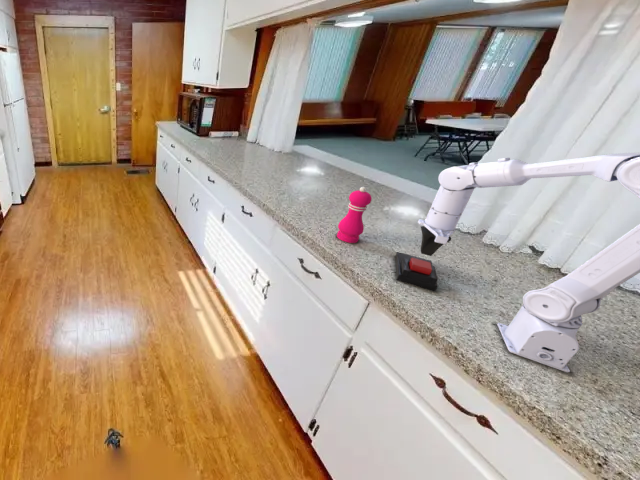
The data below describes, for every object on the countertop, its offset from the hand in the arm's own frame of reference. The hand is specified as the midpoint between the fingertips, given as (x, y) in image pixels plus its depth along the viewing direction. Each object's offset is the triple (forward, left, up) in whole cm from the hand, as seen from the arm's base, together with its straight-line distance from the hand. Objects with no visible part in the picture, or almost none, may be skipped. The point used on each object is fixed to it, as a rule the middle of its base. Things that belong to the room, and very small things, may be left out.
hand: (425, 253), depth 81 cm
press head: (0, 0, -5) cm, 5 cm away
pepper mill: (+14, +17, -9) cm, 24 cm away
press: (+3, 0, -9) cm, 10 cm away
